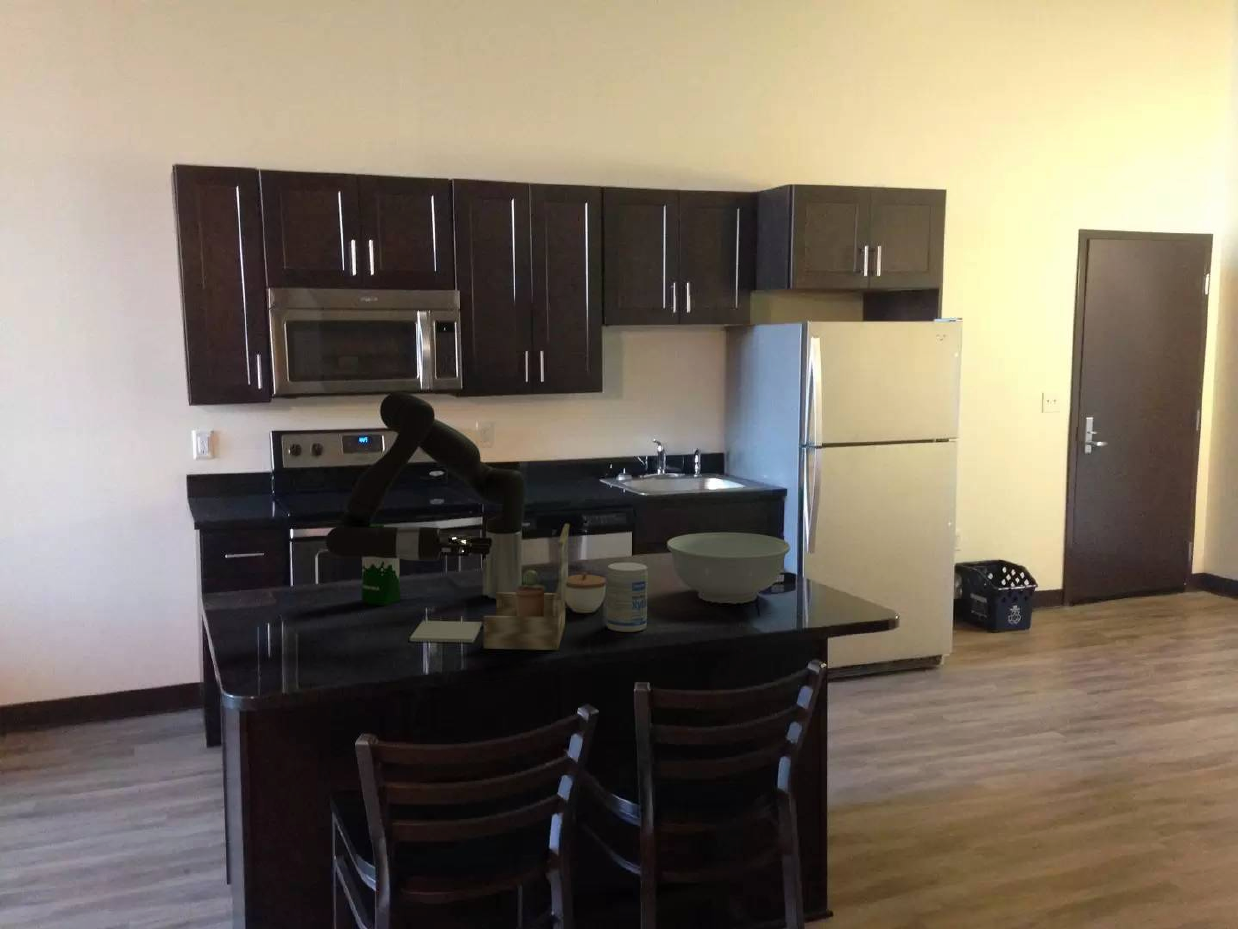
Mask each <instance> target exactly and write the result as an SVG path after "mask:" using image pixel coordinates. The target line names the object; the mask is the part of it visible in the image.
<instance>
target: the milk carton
mask: <svg viewBox="0 0 1238 929" xmlns="http://www.w3.org/2000/svg"><path fill="white" fill-rule="evenodd" d="M376 527H385V526H384V524H382V523H371V525H370V528H376ZM361 561H362V562H361V566H362V567H361V568H362V569H361V572H362V573H361V575H362V577H361V578H362V586H361V587H362V588H361V589H362V590H361V603H363V604H369V605H376V606H382V607H385V606H388V605H390V603H391V604H393V602H394V603H396V602H399V601H401V600H402V593H401V585H400V559H398V558H379V557H361Z"/></svg>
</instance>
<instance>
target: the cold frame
mask: <svg viewBox="0 0 1238 929" xmlns="http://www.w3.org/2000/svg"><path fill="white" fill-rule="evenodd" d="M569 530H570V523H565V524H564V526H563V528H562V530H561V534H560V536H559V539H558V541H557V547H558V550H559V551H558V584H557V587H556V590H555V592H545V594H544V617H531V616H517V594H516V592H497V599H496V615H483V649H489V650H490V649H493V650H495V649H496V650H498V649H499V650H501V649H503V650H537V651H538V650H541V651H542V650H545V651H546V650H547V651H549V650H550V651H554V650H555V651H559V648H560V645H561V644H560V643H561V640H562V637H563V632H564V629H565V625H566V624H565V623H566V601H565V586H566V583H567V579H568V576H569Z"/></svg>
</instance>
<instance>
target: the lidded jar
mask: <svg viewBox="0 0 1238 929" xmlns="http://www.w3.org/2000/svg"><path fill="white" fill-rule="evenodd" d="M606 585H607V578H605V577H603V576H600V575H595V574H587V572H582V574H576V575H574V574H573V575H568V579H567V583H566V586H565V604H567V606H568V607H569V608H570V609H571V611H572V612H574V613H580V614H589V613H594V612H596V611H597V609H598V608H599V607H600V606H602V603H603V602H604V601H605V595H606Z"/></svg>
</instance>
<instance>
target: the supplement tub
mask: <svg viewBox="0 0 1238 929" xmlns="http://www.w3.org/2000/svg"><path fill="white" fill-rule="evenodd" d="M606 573H607V574H606V618H605V619H606V622H605V623H606V624H605V625H606V627H607V628H608V629H610V630H612V631H615V632H619V633H620V632H621V633H623V632H624V633H635V632H640V631H643V630H644V629H646V627H647V622H648V615H647V614H648V579H649V578H648V577H649V576H648V566H647V565H645V564H642V563H638V562H615V563H611V564H609V565H607V572H606Z"/></svg>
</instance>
